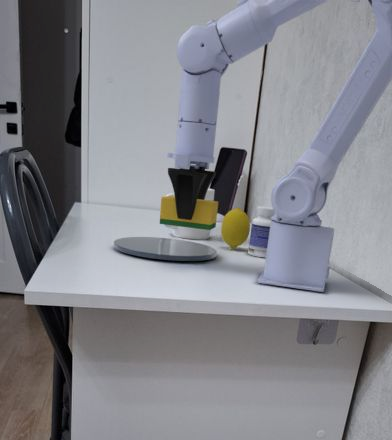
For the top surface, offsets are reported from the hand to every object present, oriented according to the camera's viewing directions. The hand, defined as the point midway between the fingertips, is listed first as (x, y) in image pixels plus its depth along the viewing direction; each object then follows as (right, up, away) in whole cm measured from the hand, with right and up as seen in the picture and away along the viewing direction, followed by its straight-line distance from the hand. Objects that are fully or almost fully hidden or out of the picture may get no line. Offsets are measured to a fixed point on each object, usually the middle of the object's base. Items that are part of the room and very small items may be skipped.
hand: (188, 217), depth 85 cm
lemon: (+8, -1, +22) cm, 24 cm away
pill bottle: (+14, -3, +19) cm, 23 cm away
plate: (-4, -3, +11) cm, 12 cm away
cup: (-2, +4, +32) cm, 32 cm away
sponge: (0, -1, 0) cm, 1 cm away
